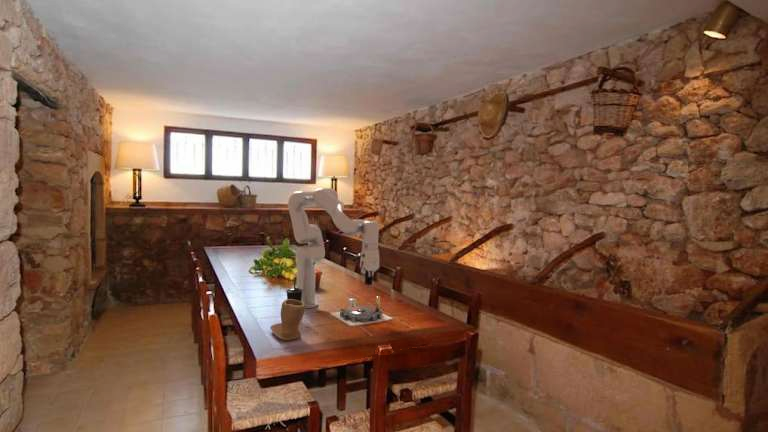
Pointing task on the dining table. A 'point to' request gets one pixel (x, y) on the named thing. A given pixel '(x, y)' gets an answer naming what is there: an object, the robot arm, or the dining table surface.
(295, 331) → the brown boot
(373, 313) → the sprocket
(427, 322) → the dining table surface
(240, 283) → the dining table surface
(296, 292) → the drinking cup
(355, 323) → the board
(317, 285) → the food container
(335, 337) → the dining table surface
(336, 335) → the dining table surface
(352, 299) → the roller
